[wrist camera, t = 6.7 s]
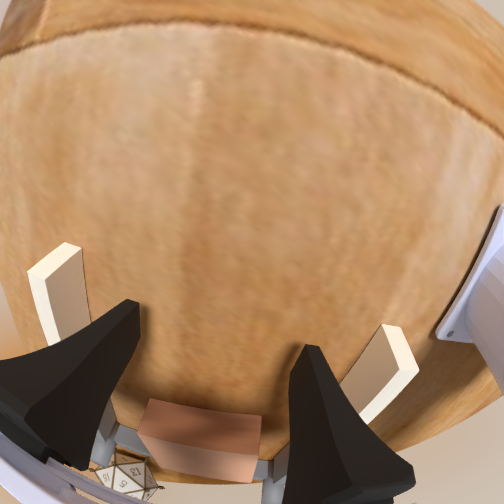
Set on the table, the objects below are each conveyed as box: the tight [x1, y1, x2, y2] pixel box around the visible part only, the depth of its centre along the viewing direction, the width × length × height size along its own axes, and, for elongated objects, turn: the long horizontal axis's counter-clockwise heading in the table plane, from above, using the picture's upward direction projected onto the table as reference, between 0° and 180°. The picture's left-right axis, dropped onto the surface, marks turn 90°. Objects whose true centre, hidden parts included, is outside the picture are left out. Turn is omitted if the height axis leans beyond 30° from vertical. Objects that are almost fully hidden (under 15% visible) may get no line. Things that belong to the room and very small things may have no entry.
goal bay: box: [90, 398, 290, 504], centre depth 16 cm, size 18×11×5 cm, turn 76°
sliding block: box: [137, 398, 262, 483], centre depth 17 cm, size 8×8×4 cm
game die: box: [88, 448, 165, 501], centre depth 21 cm, size 9×8×10 cm
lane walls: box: [27, 242, 419, 424], centre depth 13 cm, size 17×10×3 cm, turn 76°
